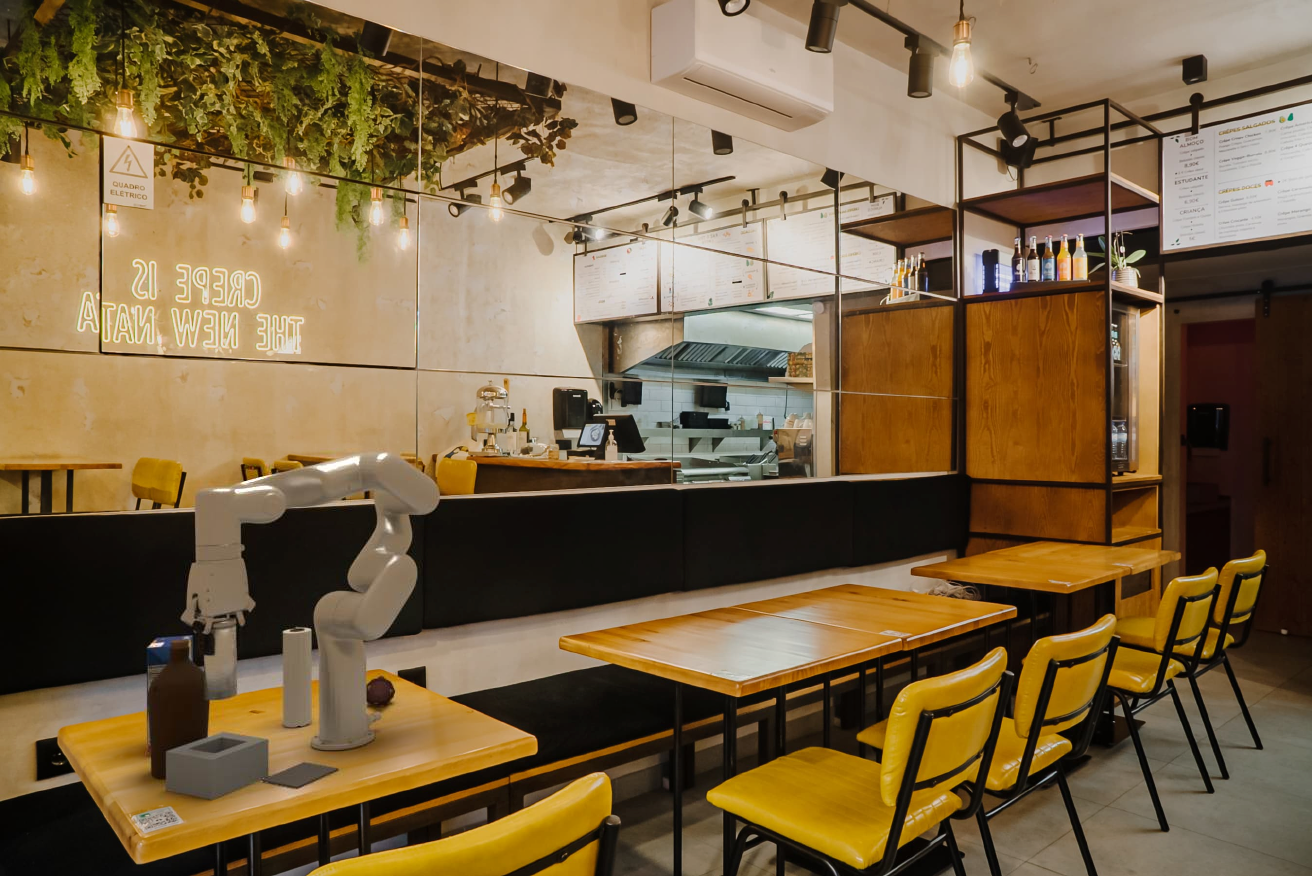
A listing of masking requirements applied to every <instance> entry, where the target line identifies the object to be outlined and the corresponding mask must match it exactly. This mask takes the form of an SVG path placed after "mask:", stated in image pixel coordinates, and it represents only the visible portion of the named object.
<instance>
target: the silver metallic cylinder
mask: <svg viewBox="0 0 1312 876" xmlns="http://www.w3.org/2000/svg"><path fill="white" fill-rule="evenodd" d="M204 623H205V620H204ZM204 623H203V625H204ZM209 633H213V654H212V655H210V656H207V655H203V664H204V665H203V671H204V692H205V699H206V700H210V701H221V700H226V699H227V700H228V699H230V698H234V697H237V696H238V667H237V665H238V663H237V662H238V659H237V658H238V656H237V655H238V653H237V649H238V648H237V647H236V618H228V617H221V618H213V622H212V625H211V629H210V632H209Z"/></svg>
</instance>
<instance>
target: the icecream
mask: <svg viewBox="0 0 1312 876" xmlns="http://www.w3.org/2000/svg"><path fill="white" fill-rule="evenodd" d="M395 694H396V689H395V687H394V684H393V683H392V681H391V680H388V679H387V678H385V676H384V675H379V676H378V677H376V678H375V677H374V678H373V679H371V680H370V681H369V682H368V683H366V704H367V703H368V704H369V705H371V706H374V707H375V706H376V707H382V706H381V705H384V706H387V705H388V704H389V703H390V702H391V700H393V698H395Z"/></svg>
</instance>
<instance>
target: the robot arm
mask: <svg viewBox="0 0 1312 876" xmlns="http://www.w3.org/2000/svg"><path fill="white" fill-rule="evenodd" d="M368 491H374V493H373V502H374V508H375V512H376V519H377V520H376V527H375V530H374V531H373V533H372V535H371V536H370V538H369V539H368V541H367V542H366V544H365V545H364V547H363V548H362V549H361V550H360V553H359V554H357V557H356V558H355V559H354V561H353V563H352V564H351V565H350V568H349V569H348V573H347V581H348V585H349V586H350V588H352V589H353V590H355V591H348V590H347V591H346V590H336V591H330V592H329V593H327V594H325V595H323V596H322V597H321V598H320V599H319V600H318V602H317V604H316V605H315V607H314V611H313V624H314V631H315V635H316V640H317V648H318V650H317V651H318V733H317V734H315V735H314V736H312V737H311V739H310V745H311V747H312V748H314V749H317V750H320V751H321V750H323V751H340V750H343V751H344V750H349V749H354V748H358V747H360V746H361V747H362V746H364V745H366V744H368V743H370V742H372V741H373V740H374V738H375V731H374V730H373V729H371V728H370V726H371V725H372V724H373V723H376V722H379V721H381V720H382V713H381V712H379V711H376V712H374V713H371V714H370V713H367V702H366V685H367V652H366V646H365V644H364V643H365V642H364V641H368V642H369V641H374V640H377V639H379V638H381V637H382V636H383V635H385V633H386V632H387V631H388V630H389V628H390V627H391V625H392V624H394V621H395V620H396V619H397V616H398V615H399V614H400V612H401V610H402V608H403V607H404V606H405V604H406V602H407V601H408V599H410V596H411V594H412V592H413V590H414V588H415V587H416V584H417V583H416V582H417V580H418V567H417V565H416V562H415V560H414V559H413V558H412V557H411V556H410V555H408V554H406V553H407V552H408V550H409V549H410V546H411V543H412V540H413V530H412V525H411V521H410V515H413V516H415V515H416V516H421V515H427V514H430V513H432V512H433V511H435V509H436V508H437V506H438V505H439V502H440V497H441V494H440V493H441V492H440V489H439V487H438V485H437V483H436V482H435V481H434V480H433V479H432V478H431V477H430V476H428V475H427V474H425V473H424V472H423V471H421V470H420V469H419V468H417V467H416V466H415V465H412V464H411V463H410V462H408V461H407V460H405V459H404V458H402V457H401V456H398V455H397V454H395V453H392V452H389V451H370V452H369V451H366V452H365V451H364V452H357V453H353V454H349V455H346V456H343V457H339V458H335V459H332V460H328V461H324V462H320V463H316V464H313V465H308V466H303V467H299V468H294V469H291V470H287V471H282V472H278V473H273V474H269V475H265V476H260V477H255V478H253V479H249V480H246V481H241V482H237V483H235V484H234V483H233V484H232V485H230V486H224V487H223V486H222V487H216V486H215V487H204V488H200V489H199V490H197V491H196V494H195V495H194V518H195V519H194V523H195V530H194V531H195V562H192V563H191V566H190V569H189V574H188V581H187V591H186V609H185V610H184V612H183V613H182V615H181V617H180V620H181V621H182V622H183V623H185V624H186V625H188V626H189V628H191V630H193V632H194V634H197V652H198V653H197V654H198V655H200V656H204V655H207V656H210V655H212V654H213V633H209V632H210V629H211V625H212V622H213V619H215V617H219V616H223V615H226V618H236V647H237V649H239V648H242V647H243V633H242V631H243V630H242V629H243V626H244V625H245V623H246V620H247V618H248V617H249V615H250V613H251V612H252V610H253V609H254V608H255V607H256V602H255V601H254V600H253V598H252V597H251V596H250V595H249V583H248V582H249V581H248V575H247V573H248V572H247V569H246V564H245V561H244V558H242V552H244V551H245V547H246V546H245V545H244V544H242V542H241V540H242V539H241V537H242V536H241V535H242V534H241V532H242V531H241V529H242V528H241V525H242V524H246V523H247V524H249V523H251V524H267V523H268V524H270V523H272V522H274V521H276V520H278V519H279V518H281V517H282V516H283V514H284V513H285V512H286V509H293V508H309V507H315V506H317V507H318V506H322V505H327V504H329V503H333V502H336V501H339V500H342V499H345V498H347V497H351V496H353V495H358V494H360V493H363V492H364V493H365V492H368ZM195 617H196V618H195ZM204 621H205V623H204ZM203 623H204V625H203Z"/></svg>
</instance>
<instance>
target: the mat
mask: <svg viewBox="0 0 1312 876" xmlns="http://www.w3.org/2000/svg"><path fill="white" fill-rule="evenodd" d="M338 771H339V767H335V766H327V765H323V764H315V763H311V762H305V761H303V762H301V763H298V764H296V765H293V766H291V767H288V768H286V769H284V770H282V771H279V772H276V773H275V774H274V773H273V774H272V775H268V777H266V778H264V779H262V780H260V781H263V782H262V783H264V782H268V783H267V784H269V783H273V784H272V785H274V784H278V785H277V786H280V785H282V786H281V787H285V786H286V788H292V789H295V788H296V789H300V788H303V787H304V786H307V785H308V784H312V783H313V782H316V781H318V780H320V779H322V778H325V777H327V776H329V775H332V774H333V773H336V772H338ZM296 789H295V790H296Z"/></svg>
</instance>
